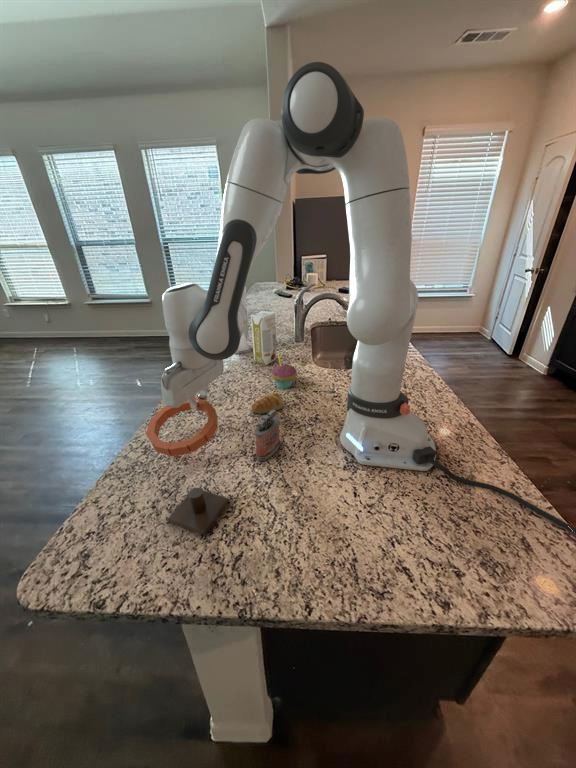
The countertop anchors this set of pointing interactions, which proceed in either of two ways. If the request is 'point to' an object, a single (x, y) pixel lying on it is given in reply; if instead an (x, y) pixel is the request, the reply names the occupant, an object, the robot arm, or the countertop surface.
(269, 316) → the juice carton
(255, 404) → the pastry
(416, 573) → the countertop surface
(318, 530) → the countertop surface
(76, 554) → the countertop surface
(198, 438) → the ring
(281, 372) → the cupcake
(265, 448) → the lighter
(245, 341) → the skyscraper
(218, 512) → the peg stand
